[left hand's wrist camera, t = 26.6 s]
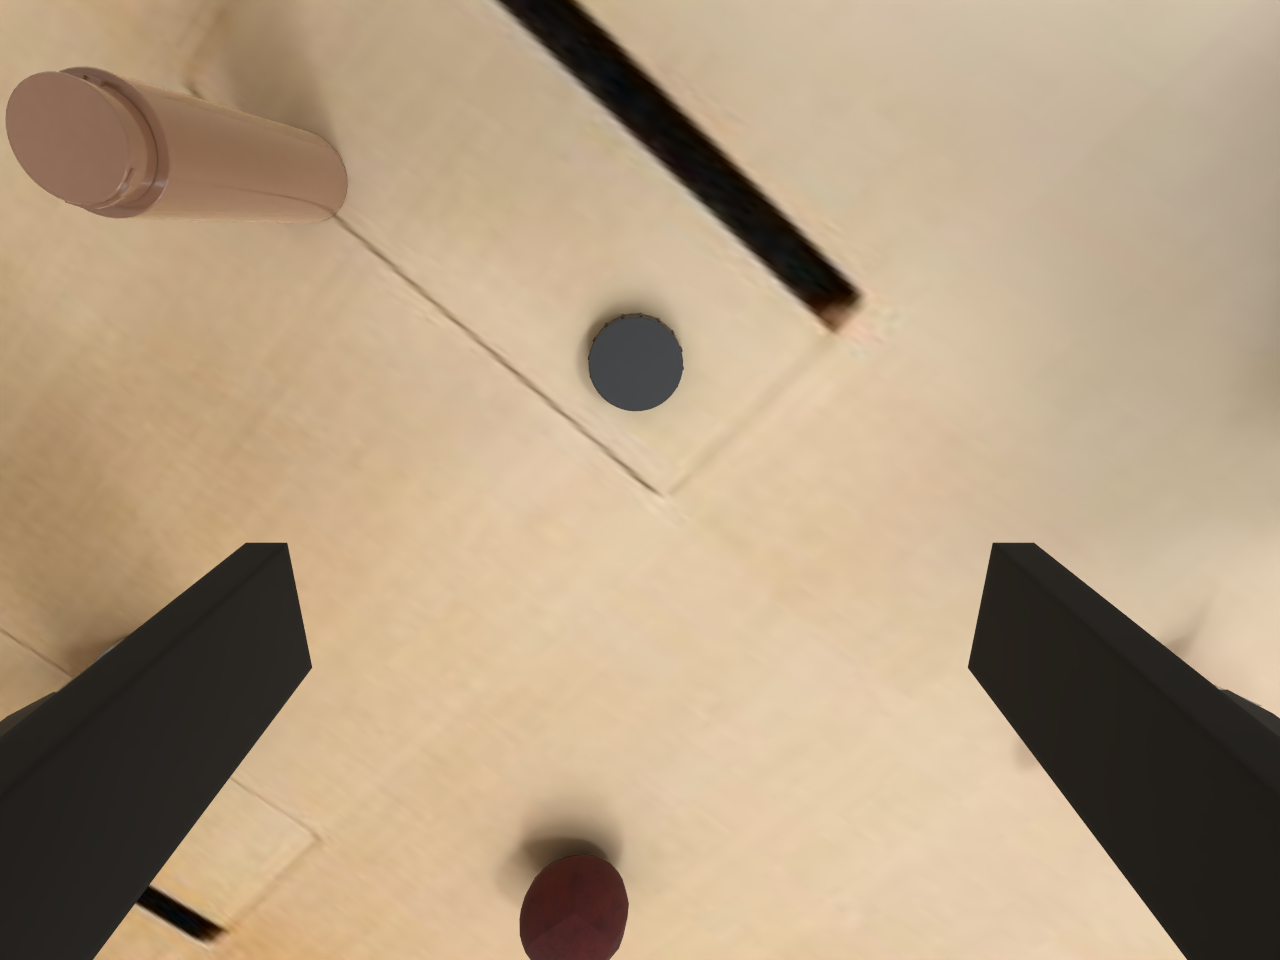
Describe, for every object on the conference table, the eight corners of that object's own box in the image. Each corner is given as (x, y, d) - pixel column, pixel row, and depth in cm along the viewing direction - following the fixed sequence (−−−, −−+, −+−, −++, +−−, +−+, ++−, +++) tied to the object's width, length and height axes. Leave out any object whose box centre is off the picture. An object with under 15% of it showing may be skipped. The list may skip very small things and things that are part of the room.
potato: (508, 870, 50) (489, 967, 44) (579, 814, 48) (570, 906, 42) (581, 920, 52) (572, 1019, 46) (652, 867, 50) (653, 963, 44)
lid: (678, 309, 36) (680, 312, 35) (684, 401, 38) (686, 407, 37) (585, 317, 37) (582, 320, 35) (595, 408, 38) (593, 415, 37)
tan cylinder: (247, 190, 34) (-27, 162, 20) (281, 111, 33) (14, 21, 19) (326, 240, 35) (115, 246, 21) (361, 164, 34) (162, 116, 20)
